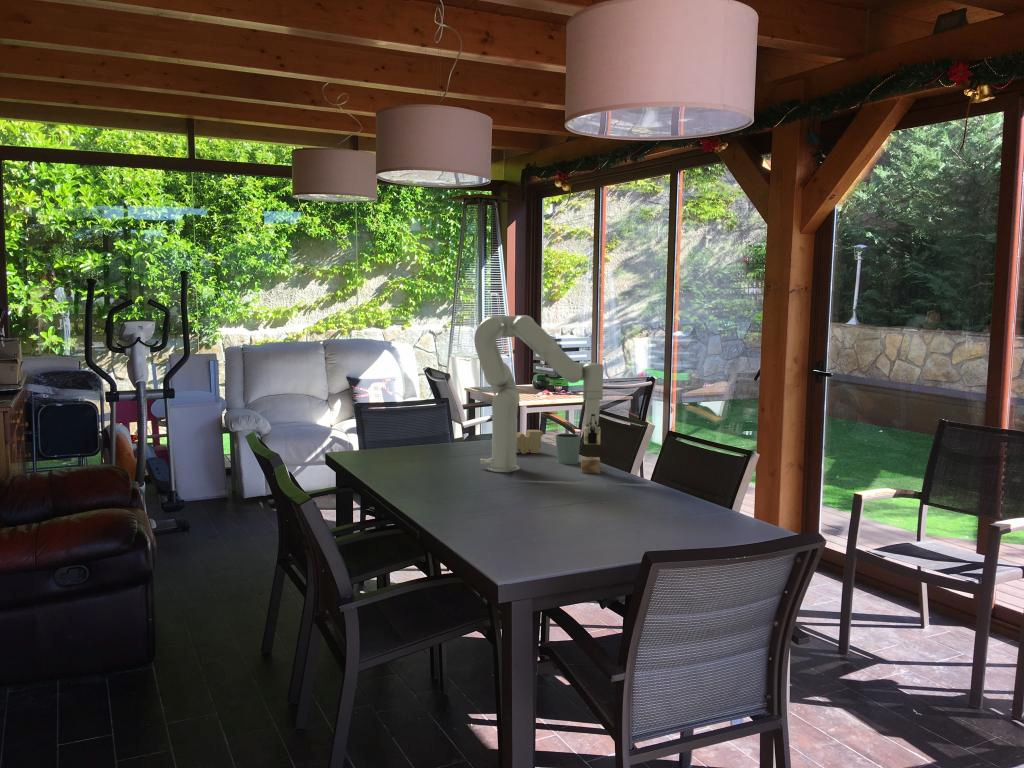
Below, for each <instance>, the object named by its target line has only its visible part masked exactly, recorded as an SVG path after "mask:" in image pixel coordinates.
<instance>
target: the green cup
mask: <svg viewBox="0 0 1024 768" xmlns="http://www.w3.org/2000/svg"><path fill="white" fill-rule="evenodd" d="M555 445H556V459H557V460H556V461H557V463H558V464H562V465H563V464H564V465H576V464H578V463H579V458H580V457H579V455H580V447H581V446H580V445H581V434H576V433H558V434H555Z"/></svg>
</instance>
